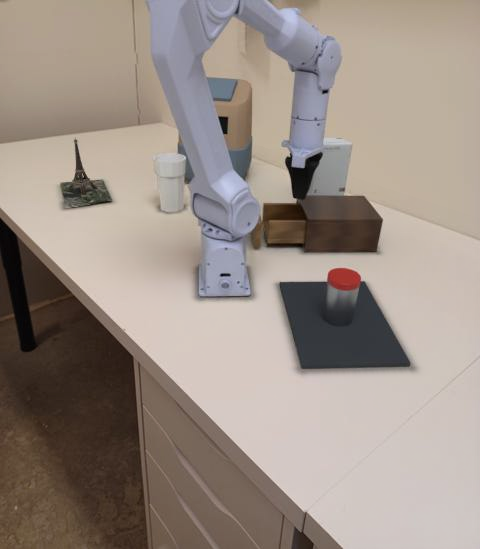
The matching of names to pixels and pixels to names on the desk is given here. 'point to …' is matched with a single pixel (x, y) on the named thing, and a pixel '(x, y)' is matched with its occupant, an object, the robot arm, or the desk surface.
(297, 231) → the drawer
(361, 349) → the mat
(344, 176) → the cosmetic box
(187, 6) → the robot arm
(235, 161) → the tan and blue canister
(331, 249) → the cabinet
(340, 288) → the tin
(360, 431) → the desk surface
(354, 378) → the desk surface
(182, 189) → the cup
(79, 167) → the eiffel tower figurine
